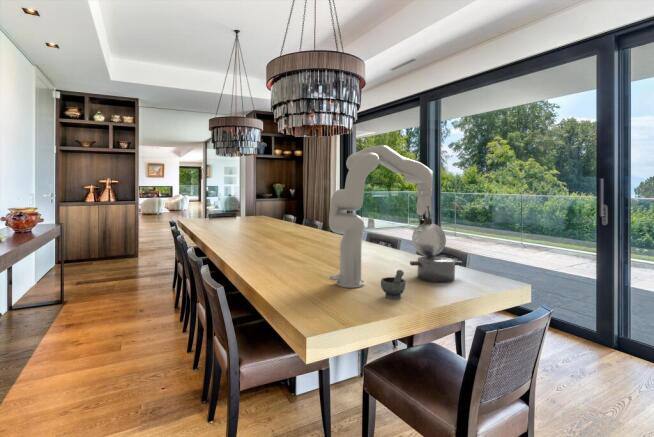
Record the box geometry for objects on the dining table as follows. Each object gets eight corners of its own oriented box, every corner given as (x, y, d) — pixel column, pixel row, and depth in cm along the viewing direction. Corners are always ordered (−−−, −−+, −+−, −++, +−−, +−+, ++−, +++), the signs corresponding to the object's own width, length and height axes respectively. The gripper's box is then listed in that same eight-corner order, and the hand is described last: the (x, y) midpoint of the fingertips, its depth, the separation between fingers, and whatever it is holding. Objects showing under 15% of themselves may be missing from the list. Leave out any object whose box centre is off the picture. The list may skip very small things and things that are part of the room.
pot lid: (411, 218, 181) (410, 219, 184) (413, 256, 178) (411, 256, 181) (444, 218, 182) (442, 219, 185) (446, 256, 179) (444, 256, 182)
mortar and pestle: (376, 294, 144) (377, 265, 143) (397, 292, 148) (397, 264, 146) (390, 303, 134) (391, 272, 133) (412, 300, 137) (412, 270, 136)
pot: (415, 283, 162) (416, 263, 161) (405, 273, 180) (405, 255, 179) (468, 282, 163) (469, 263, 162) (452, 273, 181) (453, 255, 180)
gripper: (413, 192, 194) (412, 226, 196) (422, 193, 179) (421, 229, 181) (427, 192, 195) (426, 226, 196) (436, 193, 180) (435, 229, 181)
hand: (423, 227), depth 189 cm, fingers closed
